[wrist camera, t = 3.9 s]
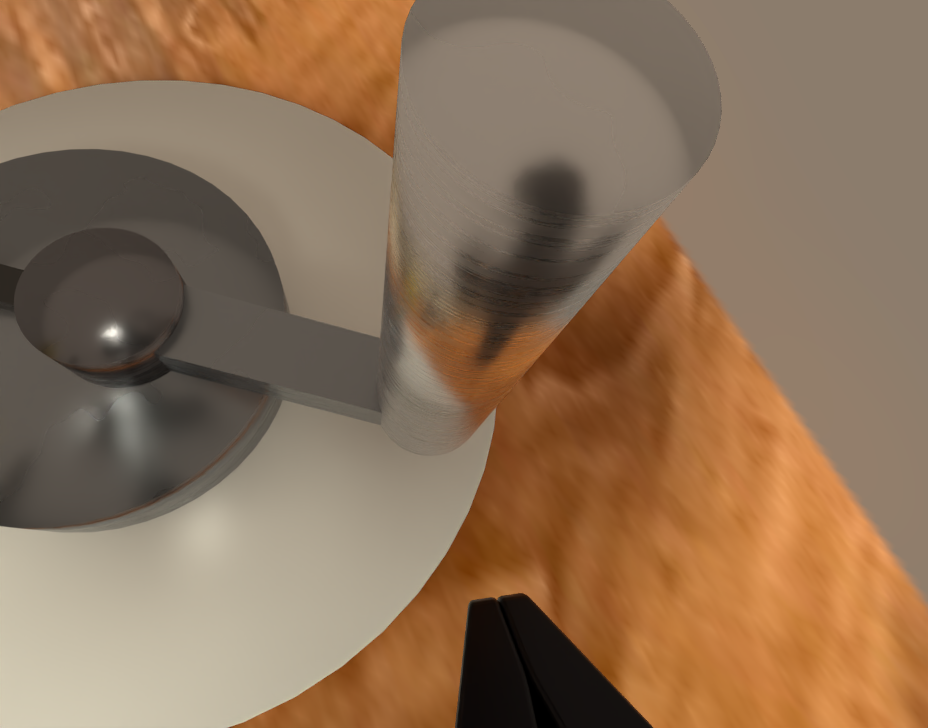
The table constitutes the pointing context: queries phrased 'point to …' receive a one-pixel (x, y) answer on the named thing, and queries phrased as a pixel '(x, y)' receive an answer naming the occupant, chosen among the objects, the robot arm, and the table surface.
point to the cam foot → (406, 269)
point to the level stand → (257, 478)
